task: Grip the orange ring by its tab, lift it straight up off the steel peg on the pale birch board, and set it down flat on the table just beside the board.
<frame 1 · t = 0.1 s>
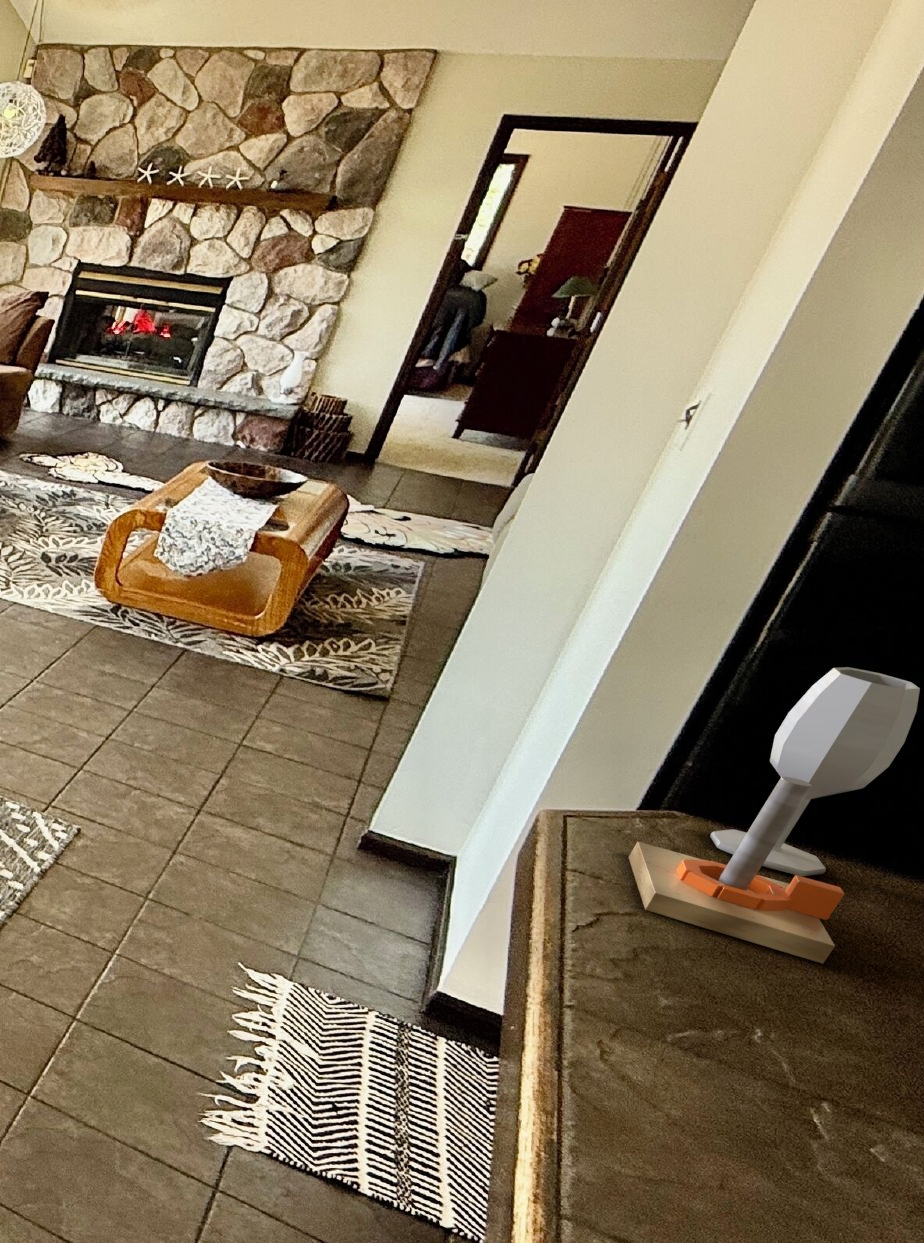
ring: (729, 889, 114), point 2 cm above the countertop, touching board
wineglass: (762, 858, 126), on the countertop
board: (718, 906, 114), on the countertop
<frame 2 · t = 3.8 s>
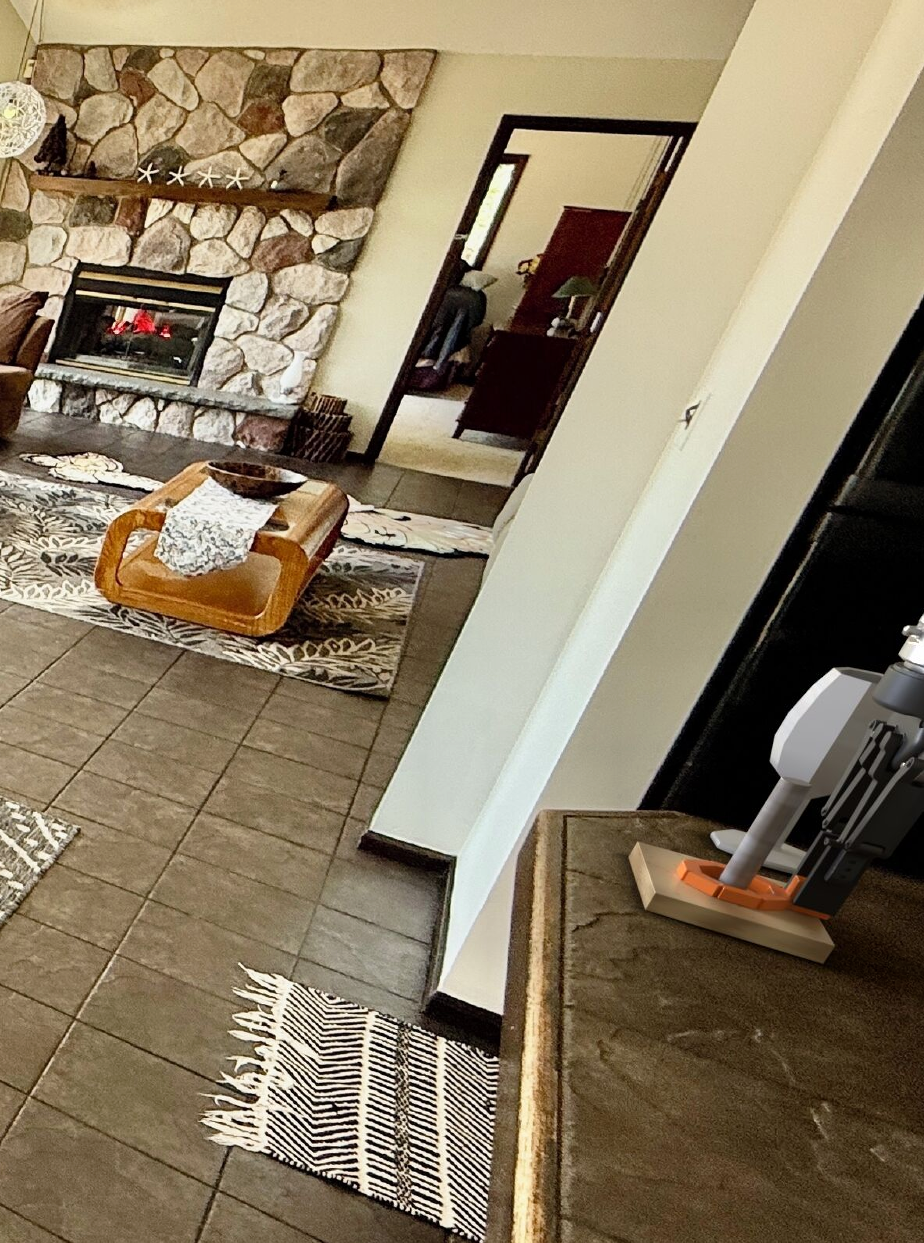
hand: (809, 901, 110), 3 cm above the countertop, tool pointing down, fingers closed on ring, 3 cm apart
ring: (729, 889, 114), point 2 cm above the countertop, touching gripper
everything else where it was.
when the fingers open (1 cm above the countertop, at t = 11.9 s): ring stays where it is, on the countertop.
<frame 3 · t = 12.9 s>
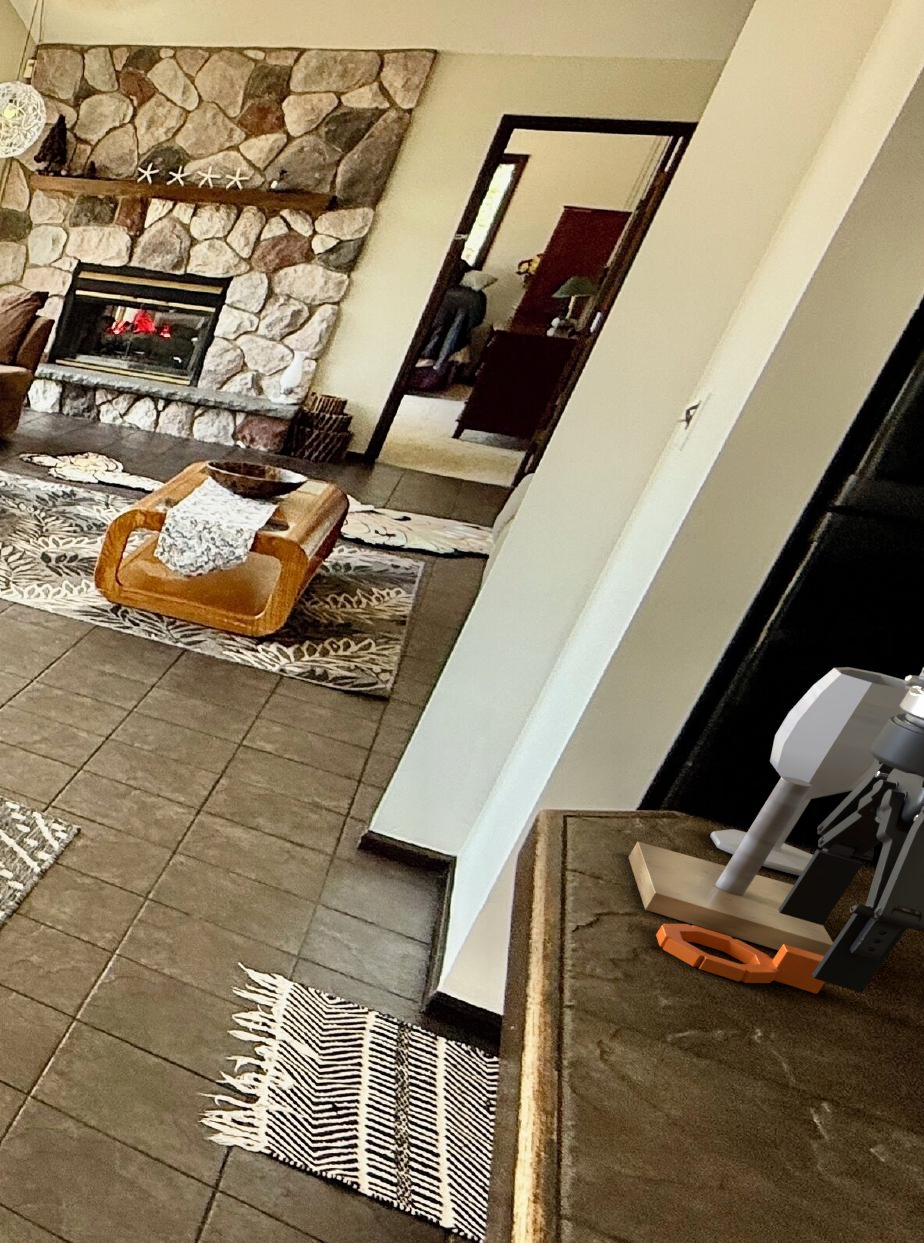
hand: (817, 949, 101), 4 cm above the countertop, tool pointing down, fingers open, 13 cm apart
ring: (712, 958, 105), on the countertop
everything else where it was.
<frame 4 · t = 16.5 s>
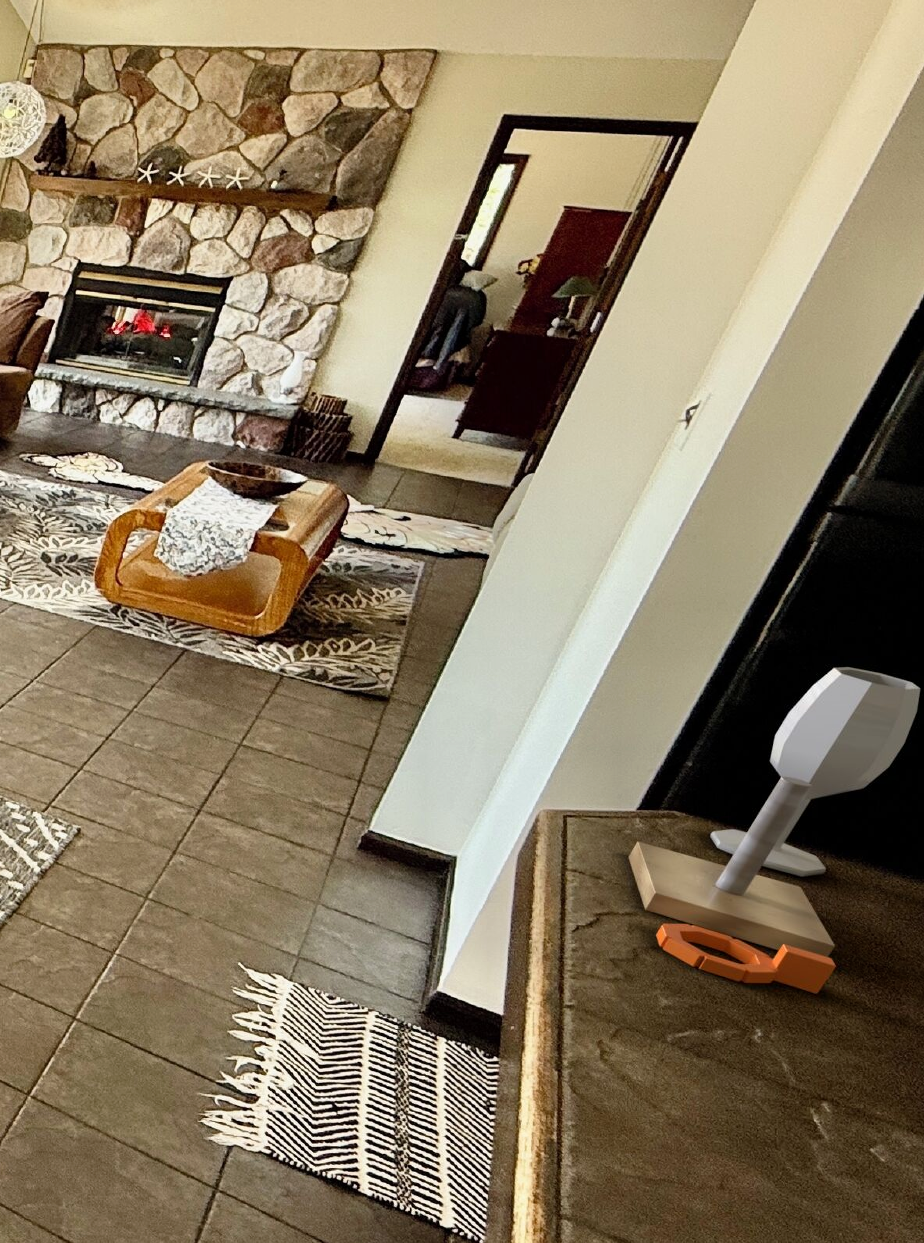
nothing on the countertop moved.
at the end: ring inside the target area (0.2 cm from its centre), on the countertop; the gripper is holding nothing; ring tilted 0° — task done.
